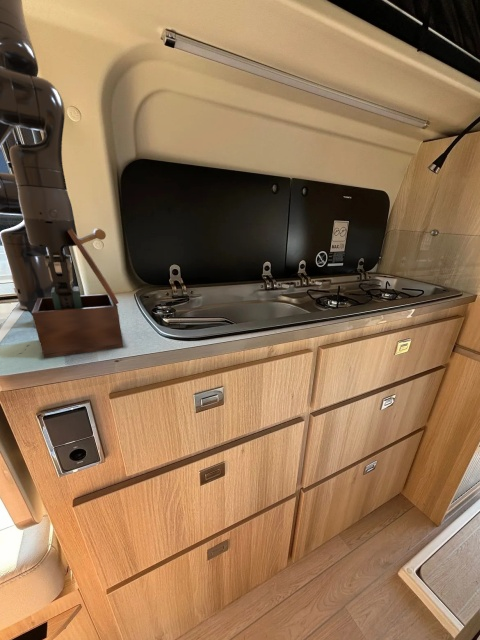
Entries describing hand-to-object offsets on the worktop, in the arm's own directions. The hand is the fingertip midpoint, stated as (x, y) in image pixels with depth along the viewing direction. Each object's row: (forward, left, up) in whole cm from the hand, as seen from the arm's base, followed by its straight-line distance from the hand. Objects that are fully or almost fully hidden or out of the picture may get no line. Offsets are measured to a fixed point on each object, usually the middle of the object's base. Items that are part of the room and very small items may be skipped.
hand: (69, 309), depth 58 cm
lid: (0, +5, +8) cm, 10 cm away
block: (0, 0, 0) cm, 0 cm away
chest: (0, +1, -7) cm, 7 cm away
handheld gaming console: (-17, -3, -8) cm, 18 cm away
